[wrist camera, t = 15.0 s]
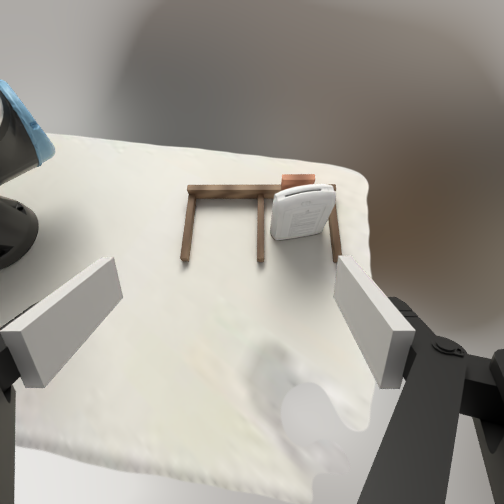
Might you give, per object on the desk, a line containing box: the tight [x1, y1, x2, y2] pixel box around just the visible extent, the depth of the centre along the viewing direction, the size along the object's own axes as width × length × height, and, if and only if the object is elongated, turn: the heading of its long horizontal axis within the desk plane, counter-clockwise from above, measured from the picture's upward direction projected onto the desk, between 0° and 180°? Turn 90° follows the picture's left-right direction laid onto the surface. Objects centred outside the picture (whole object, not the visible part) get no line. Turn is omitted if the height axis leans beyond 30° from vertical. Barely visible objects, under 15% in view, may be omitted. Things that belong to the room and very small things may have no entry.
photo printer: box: [270, 184, 336, 240], centre depth 46 cm, size 10×4×12 cm, turn 100°
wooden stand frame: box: [180, 174, 342, 262], centre depth 49 cm, size 29×15×6 cm, turn 89°
